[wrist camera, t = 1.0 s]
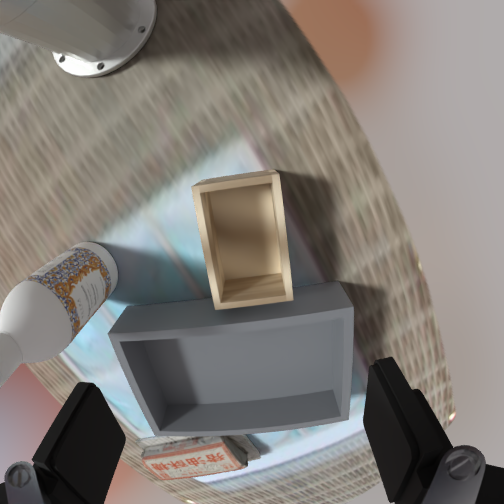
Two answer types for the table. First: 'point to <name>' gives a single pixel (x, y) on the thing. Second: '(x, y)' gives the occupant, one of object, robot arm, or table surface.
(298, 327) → the charcoal crate
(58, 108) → the table surface
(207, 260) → the pine crate
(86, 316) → the bath foam
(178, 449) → the packaged product
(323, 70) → the table surface
